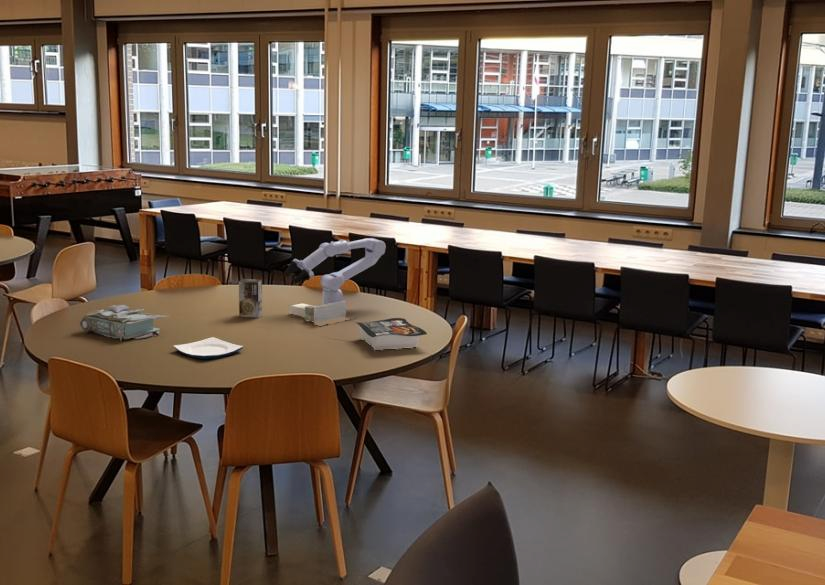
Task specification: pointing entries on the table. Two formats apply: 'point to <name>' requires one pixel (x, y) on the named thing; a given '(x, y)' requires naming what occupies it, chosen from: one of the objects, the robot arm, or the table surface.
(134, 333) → the ornate clasped book
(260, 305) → the coffee box
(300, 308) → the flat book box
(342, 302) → the metal bookend
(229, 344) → the plate
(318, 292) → the table surface
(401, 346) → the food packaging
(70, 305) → the table surface
